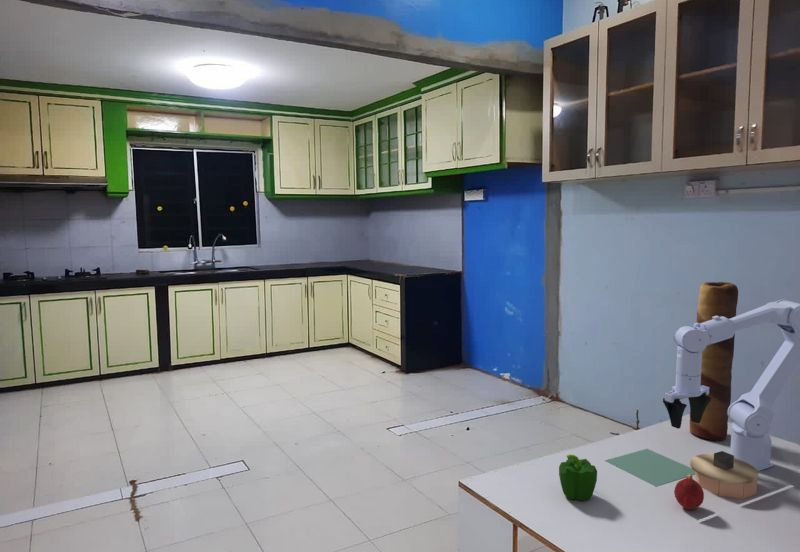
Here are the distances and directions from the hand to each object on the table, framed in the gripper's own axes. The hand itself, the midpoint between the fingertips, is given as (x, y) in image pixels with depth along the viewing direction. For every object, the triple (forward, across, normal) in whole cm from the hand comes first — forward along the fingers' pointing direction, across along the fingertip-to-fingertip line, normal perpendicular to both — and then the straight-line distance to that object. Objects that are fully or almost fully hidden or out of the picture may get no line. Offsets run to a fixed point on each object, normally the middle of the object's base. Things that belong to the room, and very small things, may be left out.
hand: (685, 424), depth 146 cm
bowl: (+10, +3, +13) cm, 17 cm away
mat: (+10, +10, -2) cm, 14 cm away
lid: (+6, +3, +12) cm, 14 cm away
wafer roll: (+10, -23, -9) cm, 27 cm away
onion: (+11, +20, +16) cm, 28 cm away
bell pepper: (+11, +37, 0) cm, 38 cm away
